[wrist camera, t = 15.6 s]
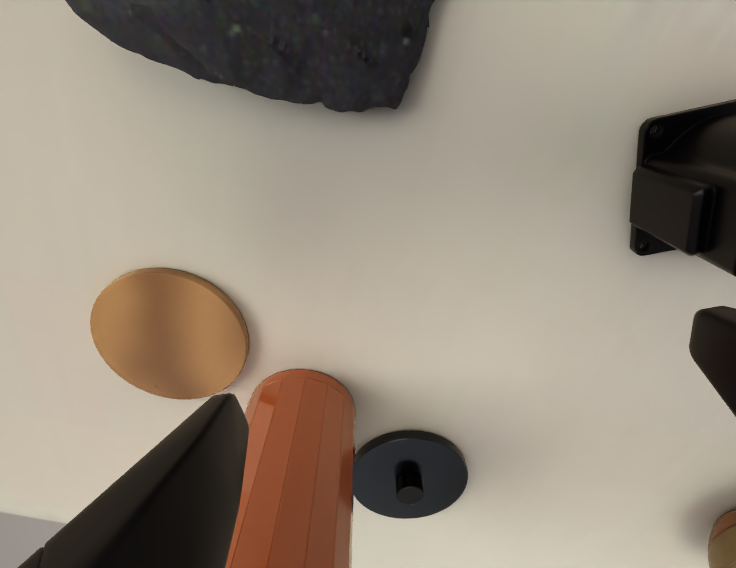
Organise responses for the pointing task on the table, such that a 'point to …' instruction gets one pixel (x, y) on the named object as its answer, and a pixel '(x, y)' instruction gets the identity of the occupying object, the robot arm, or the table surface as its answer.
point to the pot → (297, 475)
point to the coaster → (169, 333)
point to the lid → (409, 474)
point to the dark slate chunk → (277, 44)
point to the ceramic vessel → (723, 542)
